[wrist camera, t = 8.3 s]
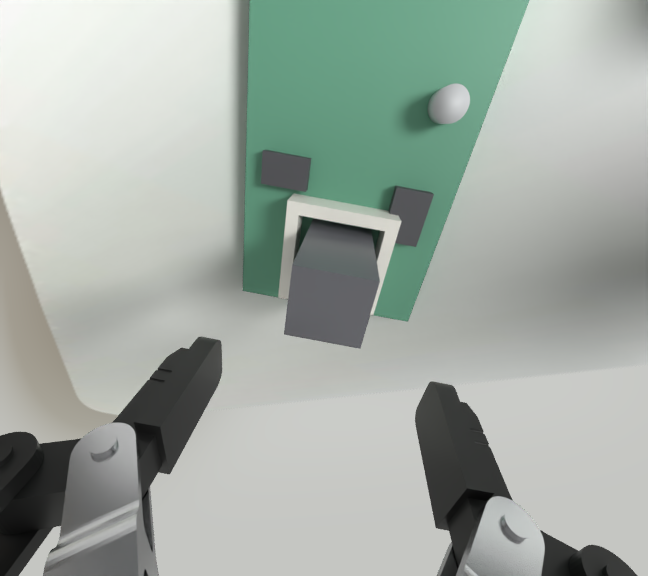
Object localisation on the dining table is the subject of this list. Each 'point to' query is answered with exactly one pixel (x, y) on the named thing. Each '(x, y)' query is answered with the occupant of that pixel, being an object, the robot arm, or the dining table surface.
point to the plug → (333, 284)
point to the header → (339, 214)
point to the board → (367, 119)
